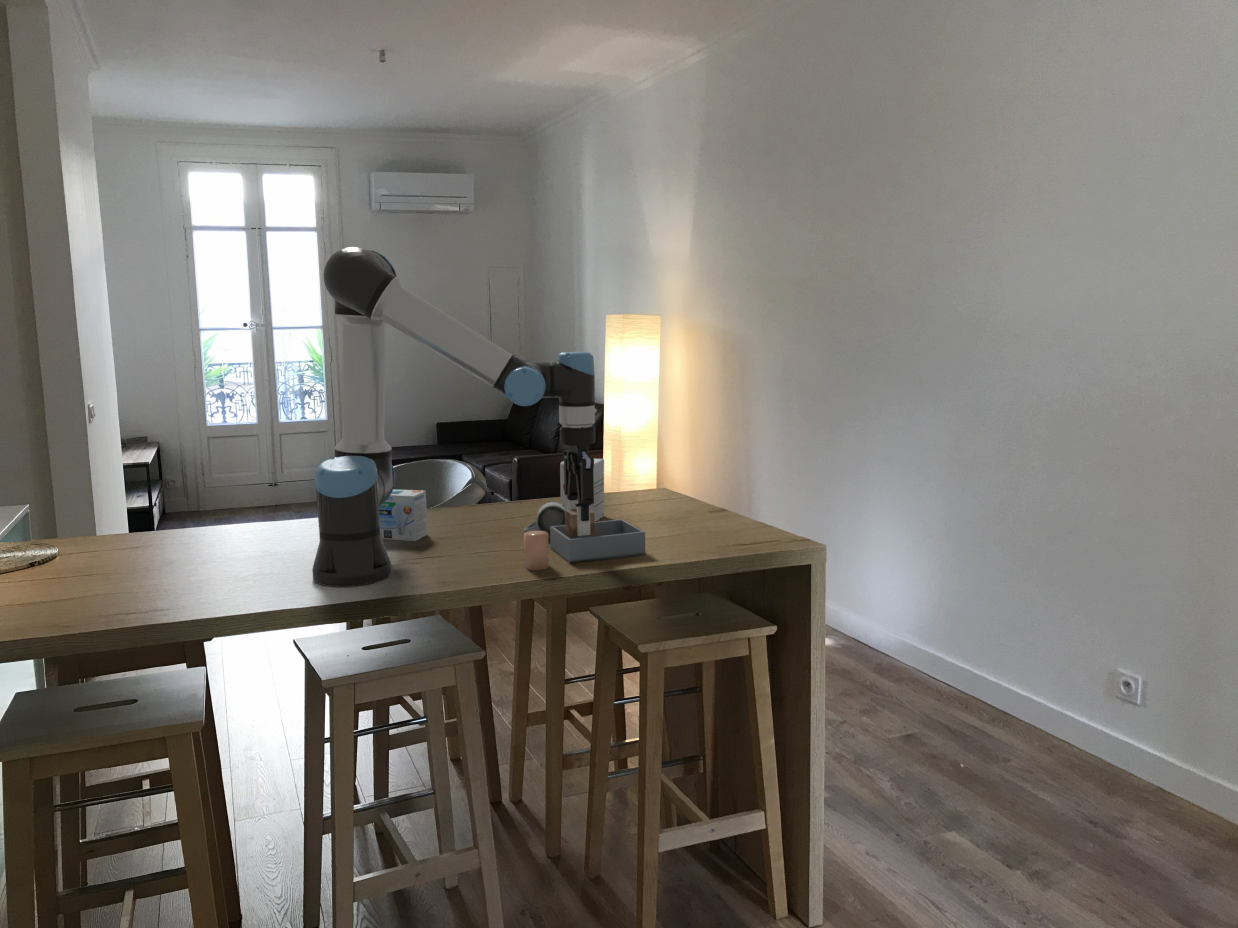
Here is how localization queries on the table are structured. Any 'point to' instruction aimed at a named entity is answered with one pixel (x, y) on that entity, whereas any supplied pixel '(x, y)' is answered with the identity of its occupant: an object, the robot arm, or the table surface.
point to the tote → (599, 542)
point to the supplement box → (598, 489)
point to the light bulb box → (404, 515)
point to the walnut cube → (572, 523)
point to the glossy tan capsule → (536, 550)
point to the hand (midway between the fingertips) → (579, 531)
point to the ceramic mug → (548, 518)
